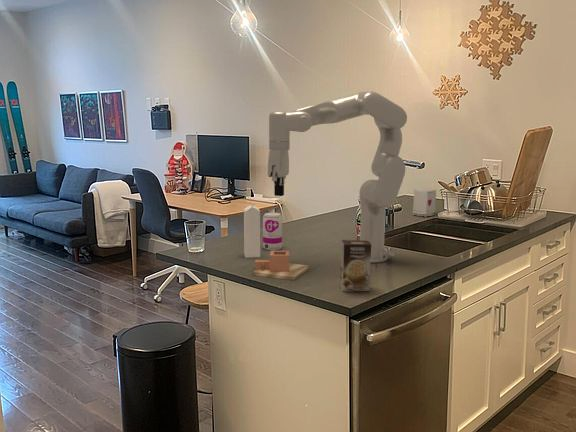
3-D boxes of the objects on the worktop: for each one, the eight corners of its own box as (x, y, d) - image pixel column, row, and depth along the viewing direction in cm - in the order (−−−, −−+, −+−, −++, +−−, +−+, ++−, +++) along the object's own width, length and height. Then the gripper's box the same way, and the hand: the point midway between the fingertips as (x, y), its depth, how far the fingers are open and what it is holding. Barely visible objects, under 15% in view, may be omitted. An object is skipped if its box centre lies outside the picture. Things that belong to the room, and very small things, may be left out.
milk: (258, 253, 237) (258, 200, 233) (260, 257, 231) (260, 203, 227) (243, 254, 236) (243, 201, 232) (245, 257, 230) (245, 203, 226)
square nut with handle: (289, 266, 214) (289, 250, 213) (289, 271, 207) (289, 255, 206) (255, 266, 214) (255, 250, 213) (254, 271, 207) (254, 255, 206)
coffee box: (342, 292, 189) (343, 244, 186) (339, 286, 195) (340, 239, 192) (370, 291, 189) (371, 244, 186) (366, 285, 195) (368, 239, 192)
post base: (309, 268, 215) (309, 255, 214) (294, 280, 201) (294, 266, 200) (270, 264, 221) (270, 251, 220) (252, 275, 207) (252, 261, 206)
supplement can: (279, 251, 241) (280, 216, 238) (260, 250, 242) (260, 215, 240) (284, 246, 249) (284, 212, 246) (265, 245, 250) (265, 211, 247)
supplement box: (425, 218, 315) (427, 190, 312) (412, 215, 321) (413, 189, 319) (435, 216, 321) (436, 189, 318) (421, 213, 327) (423, 187, 325)
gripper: (277, 144, 219) (277, 192, 222) (261, 146, 205) (261, 197, 208) (296, 145, 216) (295, 193, 219) (281, 147, 202) (280, 199, 206)
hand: (279, 195), depth 214 cm, fingers closed
